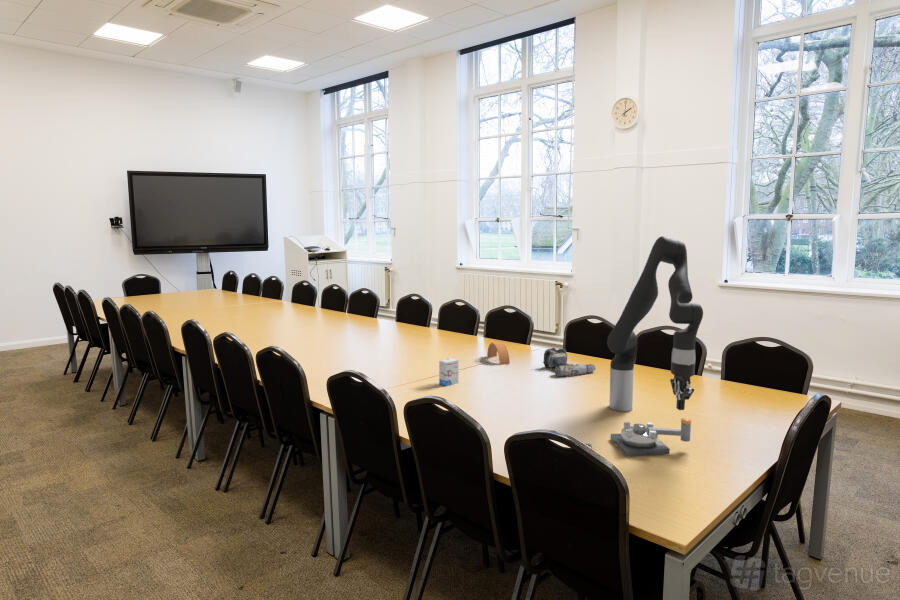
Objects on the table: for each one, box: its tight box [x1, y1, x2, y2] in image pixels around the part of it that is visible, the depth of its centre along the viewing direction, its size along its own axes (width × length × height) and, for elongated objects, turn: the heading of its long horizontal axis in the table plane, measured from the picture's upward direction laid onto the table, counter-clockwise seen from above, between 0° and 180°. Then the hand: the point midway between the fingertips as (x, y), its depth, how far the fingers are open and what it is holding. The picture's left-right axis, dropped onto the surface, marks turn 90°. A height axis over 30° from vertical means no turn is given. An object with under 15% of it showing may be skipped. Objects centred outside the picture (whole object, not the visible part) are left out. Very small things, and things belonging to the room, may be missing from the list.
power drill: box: [543, 347, 596, 378], centre depth 300 cm, size 22×23×11 cm
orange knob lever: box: [620, 417, 692, 447], centre depth 199 cm, size 23×12×8 cm, turn 78°
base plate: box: [610, 433, 671, 457], centre depth 201 cm, size 15×15×2 cm
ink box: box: [438, 357, 460, 387], centre depth 280 cm, size 9×5×12 cm, turn 131°
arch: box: [487, 341, 511, 366], centre depth 324 cm, size 6×20×10 cm, turn 16°
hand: (680, 409), depth 201 cm, fingers closed
